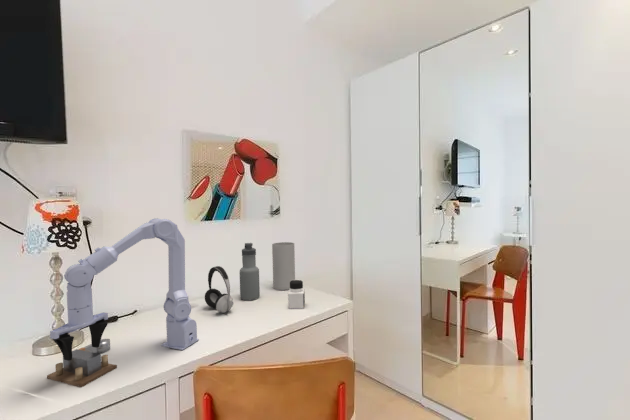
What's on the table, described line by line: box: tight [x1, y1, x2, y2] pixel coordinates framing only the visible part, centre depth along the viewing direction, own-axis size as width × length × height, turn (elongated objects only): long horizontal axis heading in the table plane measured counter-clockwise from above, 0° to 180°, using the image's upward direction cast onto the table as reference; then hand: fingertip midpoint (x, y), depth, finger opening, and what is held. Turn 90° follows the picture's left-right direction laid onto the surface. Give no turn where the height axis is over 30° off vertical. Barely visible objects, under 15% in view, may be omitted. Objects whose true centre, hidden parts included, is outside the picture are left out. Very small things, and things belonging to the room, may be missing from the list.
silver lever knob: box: [78, 338, 111, 354], centre depth 100 cm, size 4×9×4 cm, turn 161°
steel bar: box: [62, 348, 102, 376], centre depth 89 cm, size 10×4×4 cm, turn 71°
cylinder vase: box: [271, 241, 296, 291], centre depth 175 cm, size 12×12×25 cm
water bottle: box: [239, 242, 261, 301], centre depth 157 cm, size 10×10×28 cm
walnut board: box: [46, 351, 118, 388], centre depth 89 cm, size 14×10×4 cm
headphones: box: [204, 265, 234, 314], centre depth 140 cm, size 19×8×20 cm, turn 44°
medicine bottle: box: [287, 279, 306, 310], centre depth 143 cm, size 7×7×12 cm
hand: (82, 353), depth 89 cm, fingers open, 7 cm apart
